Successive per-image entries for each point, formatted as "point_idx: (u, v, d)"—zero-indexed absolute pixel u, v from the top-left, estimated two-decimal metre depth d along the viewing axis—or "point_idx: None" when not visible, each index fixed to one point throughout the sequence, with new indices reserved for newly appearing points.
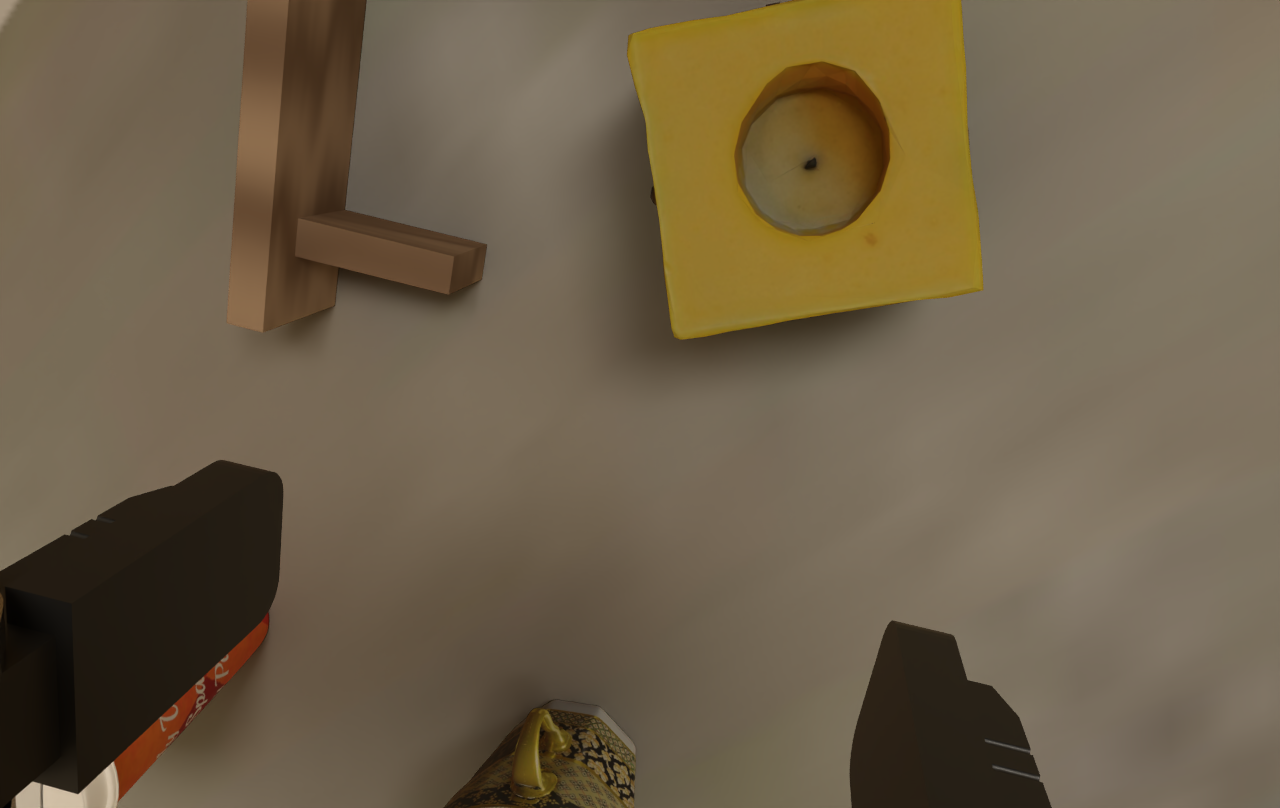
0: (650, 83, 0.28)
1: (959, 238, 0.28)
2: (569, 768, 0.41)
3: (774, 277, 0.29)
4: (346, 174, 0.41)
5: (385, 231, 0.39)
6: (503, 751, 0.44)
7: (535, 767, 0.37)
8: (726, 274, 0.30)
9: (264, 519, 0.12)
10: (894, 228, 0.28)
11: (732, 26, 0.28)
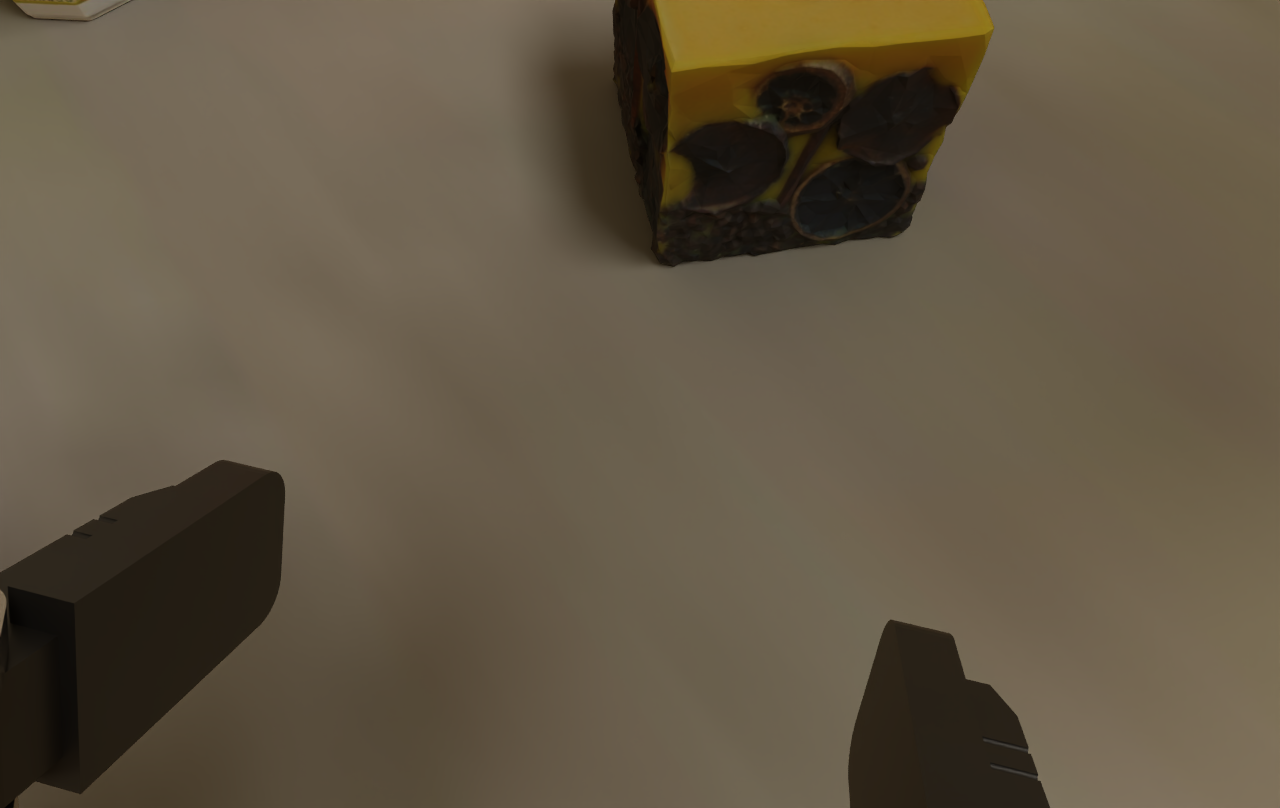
0: None
1: (726, 48, 0.26)
2: None
3: None
4: None
5: None
6: None
7: None
8: None
9: (266, 519, 0.12)
10: (733, 0, 0.27)
11: None
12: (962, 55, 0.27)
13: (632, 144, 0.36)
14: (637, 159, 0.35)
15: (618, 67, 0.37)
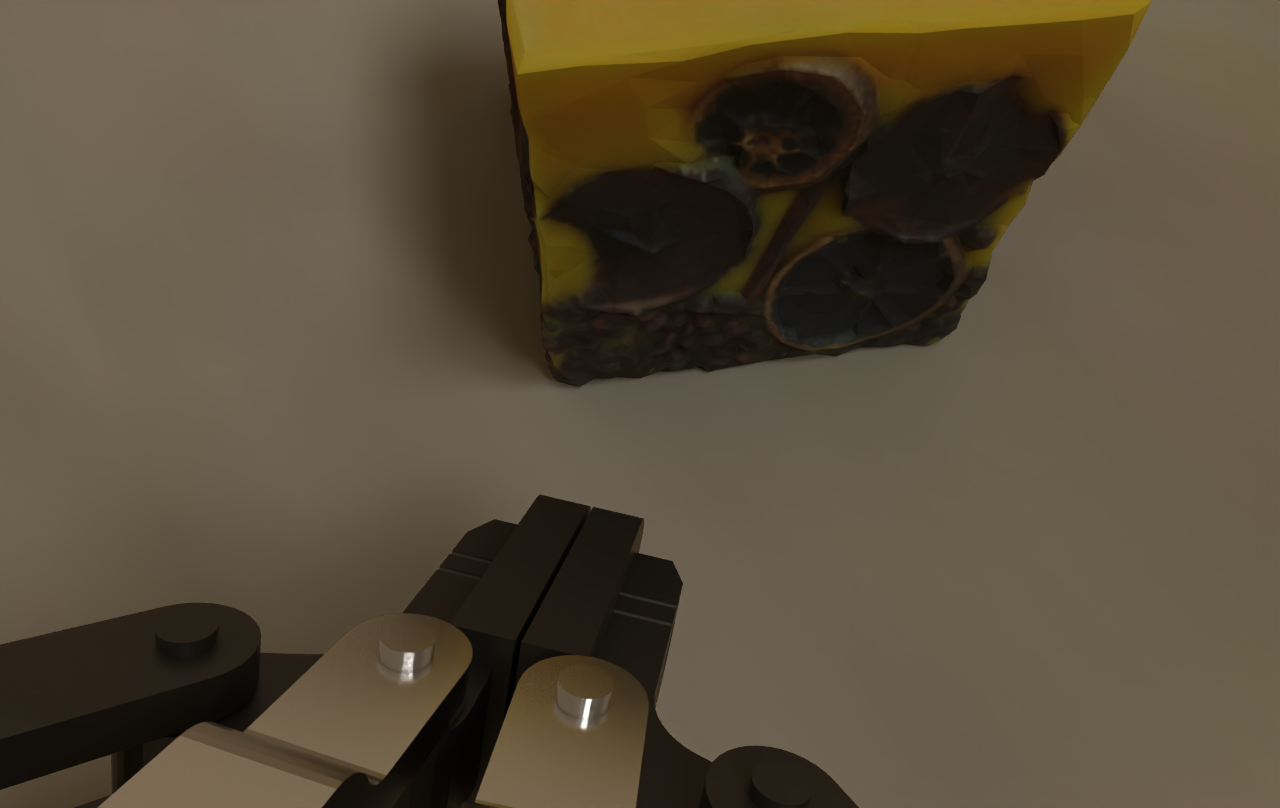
0: None
1: (629, 29, 0.13)
2: None
3: None
4: None
5: None
6: None
7: None
8: None
9: None
10: None
11: None
12: (1084, 54, 0.14)
13: None
14: (529, 213, 0.23)
15: None
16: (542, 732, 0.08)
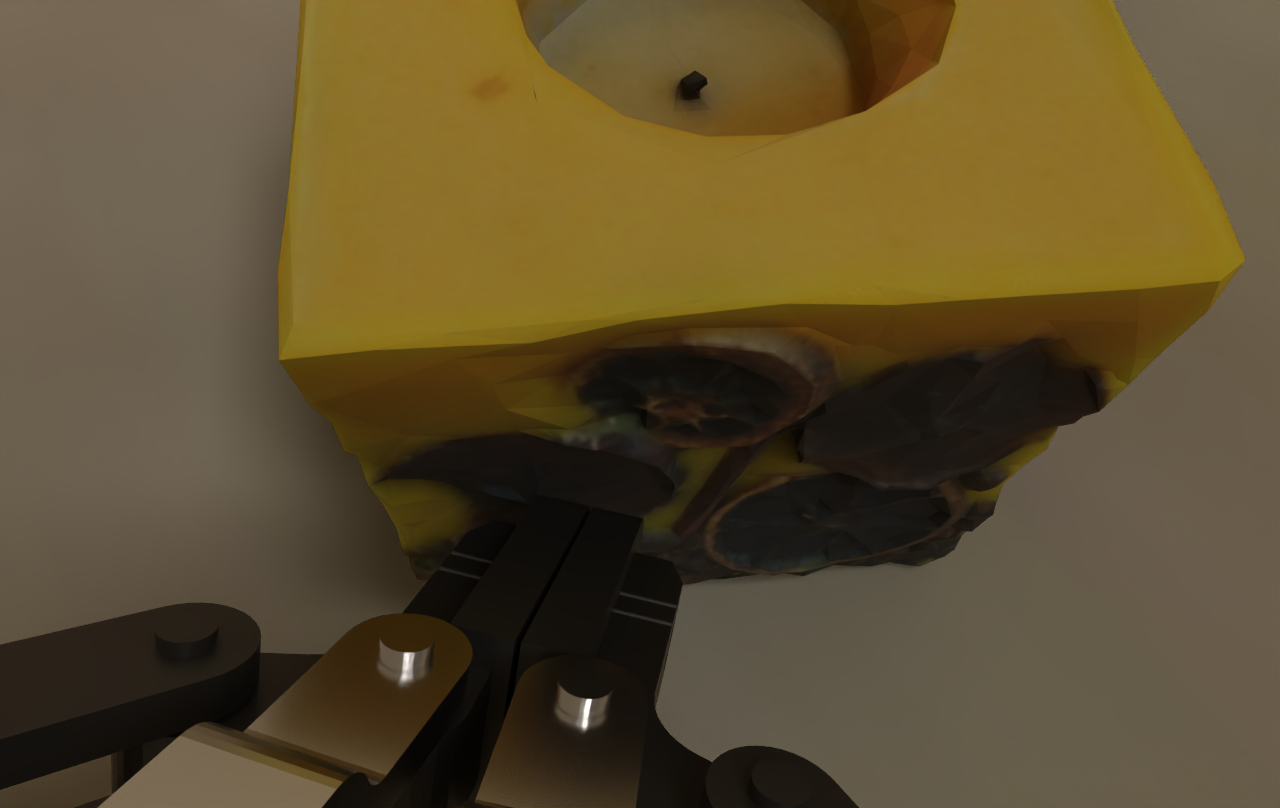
0: None
1: (457, 290, 0.09)
2: None
3: None
4: None
5: None
6: None
7: None
8: None
9: None
10: (512, 137, 0.10)
11: None
12: (1140, 321, 0.10)
13: None
14: None
15: None
16: (542, 732, 0.08)
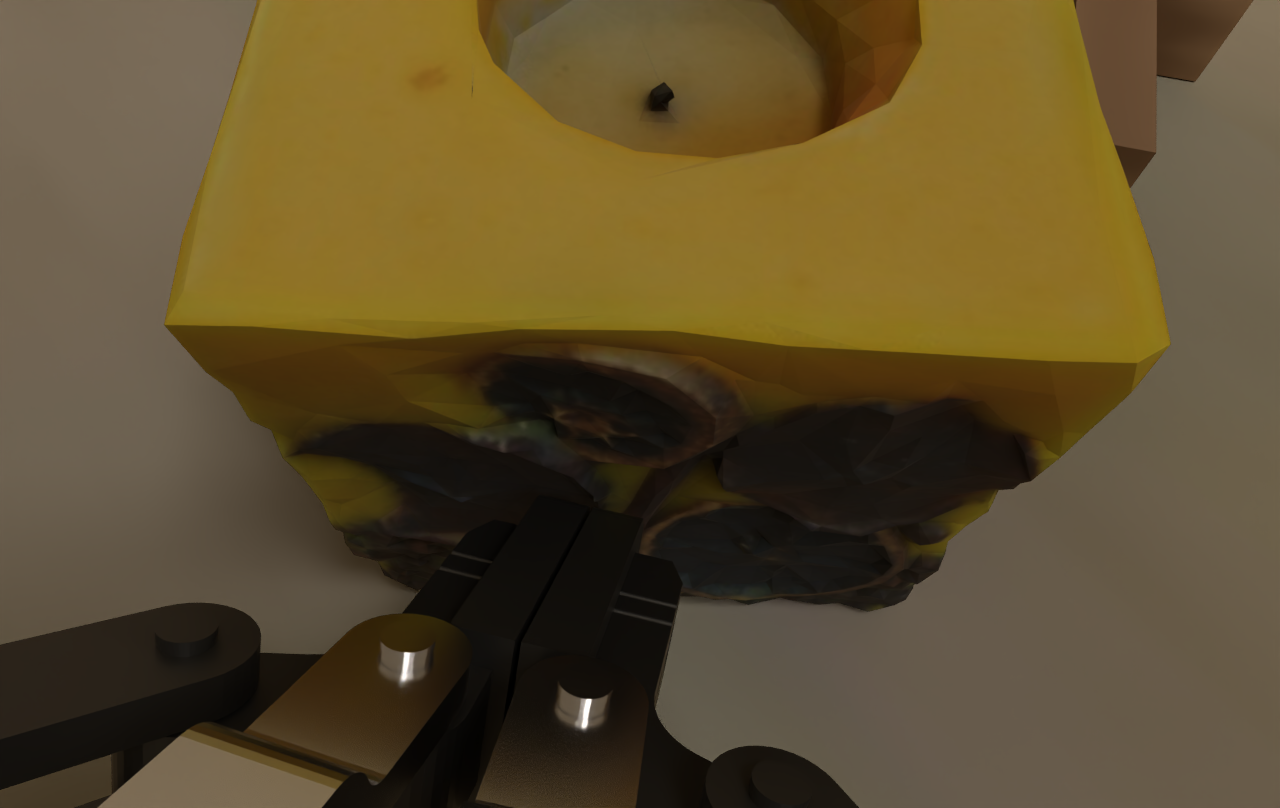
0: None
1: (349, 277, 0.09)
2: None
3: None
4: None
5: None
6: None
7: None
8: None
9: None
10: (439, 130, 0.10)
11: None
12: (1058, 394, 0.09)
13: None
14: None
15: None
16: (542, 732, 0.08)
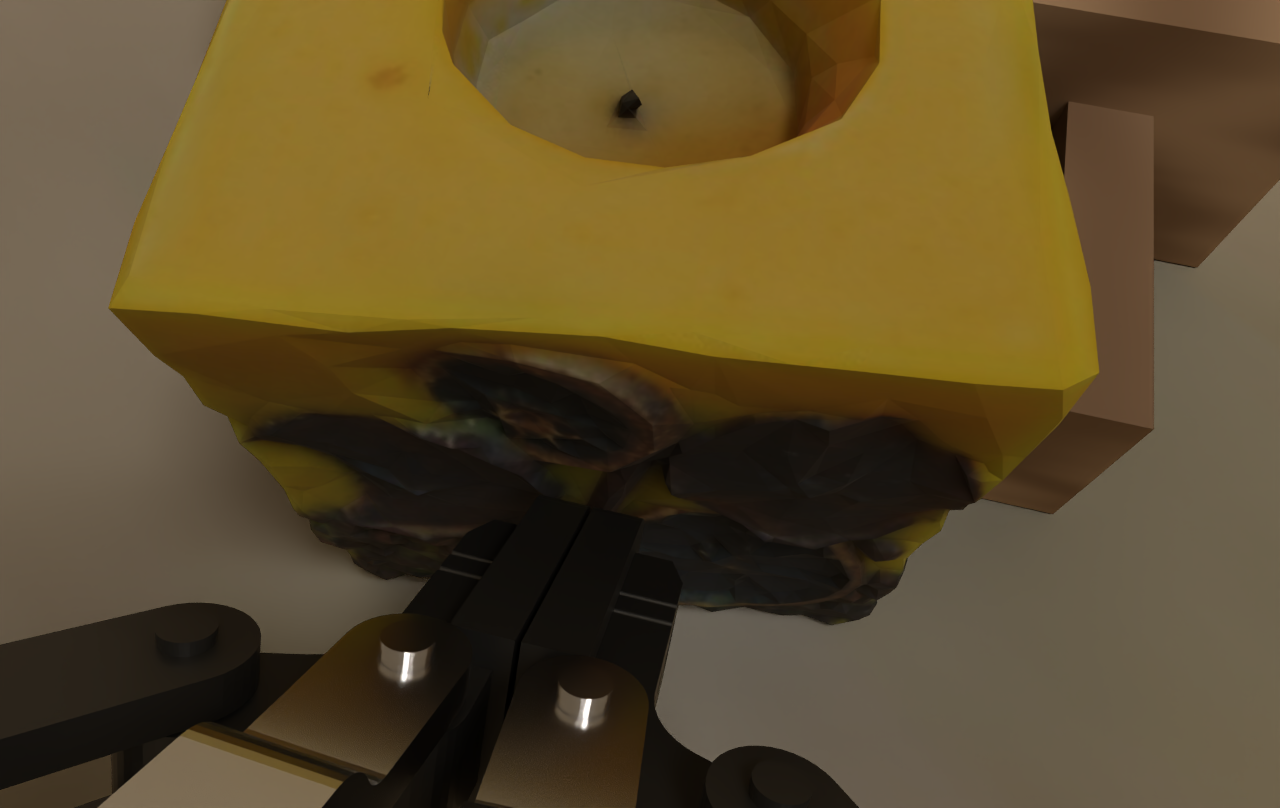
0: None
1: (291, 269, 0.09)
2: None
3: None
4: None
5: None
6: None
7: None
8: None
9: None
10: (393, 129, 0.10)
11: None
12: (990, 417, 0.09)
13: None
14: None
15: None
16: (542, 732, 0.08)
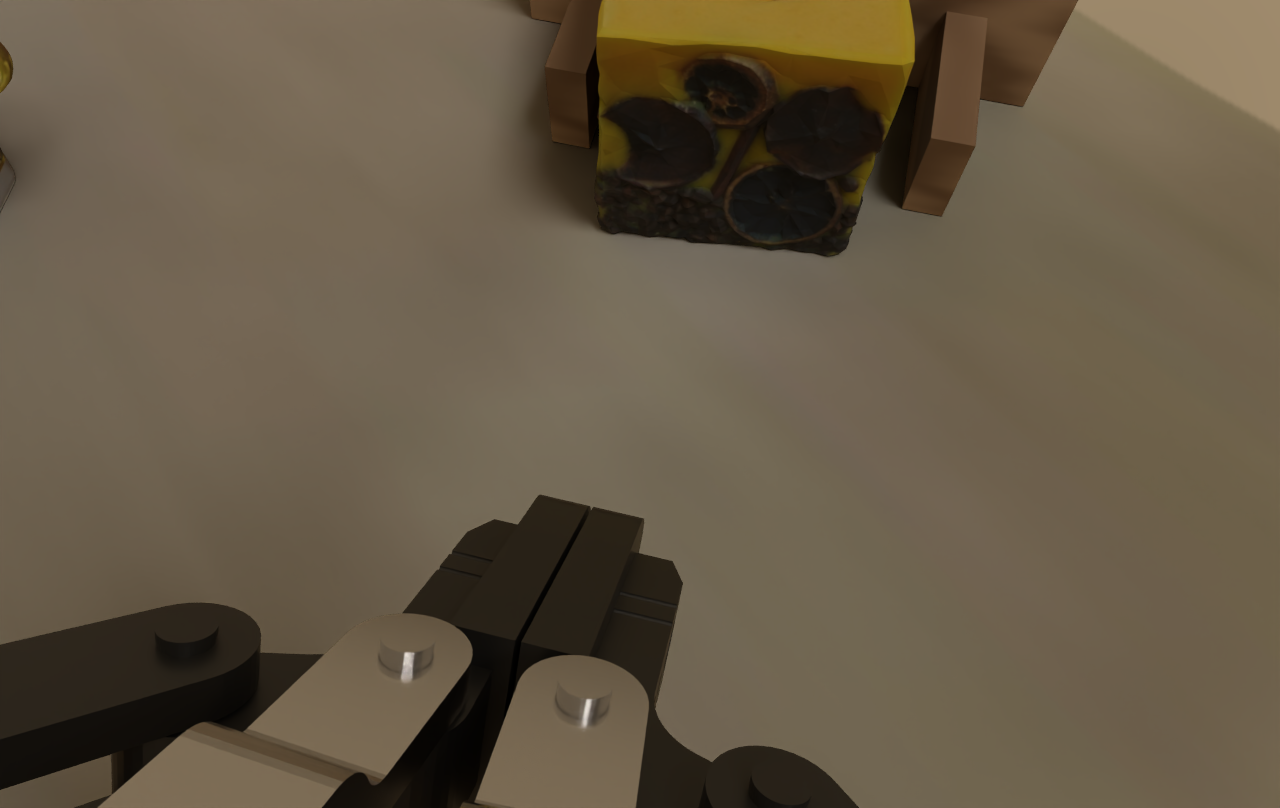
0: None
1: (654, 26, 0.28)
2: None
3: None
4: None
5: None
6: None
7: None
8: None
9: None
10: None
11: None
12: (882, 82, 0.28)
13: None
14: None
15: None
16: (542, 732, 0.08)
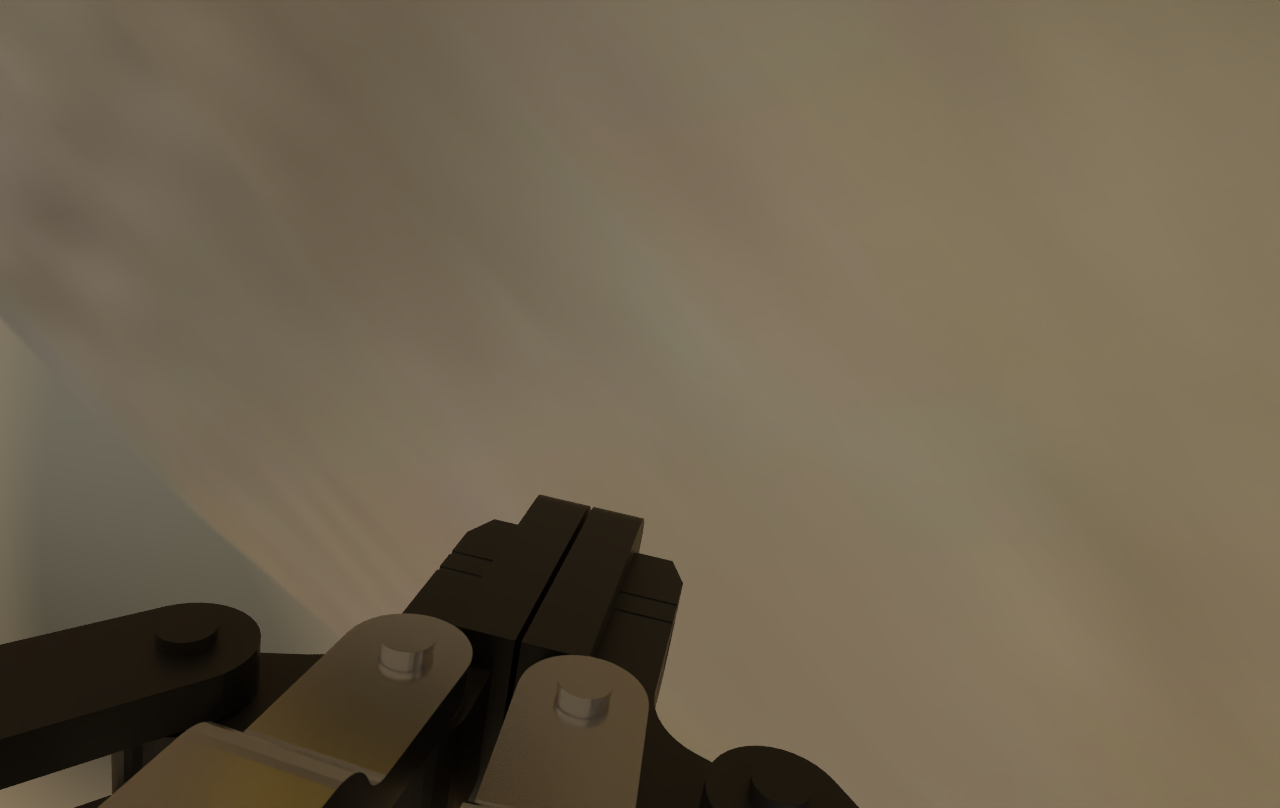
0: None
1: None
2: None
3: None
4: None
5: None
6: None
7: None
8: None
9: None
10: None
11: None
12: None
13: None
14: None
15: None
16: (542, 732, 0.08)
